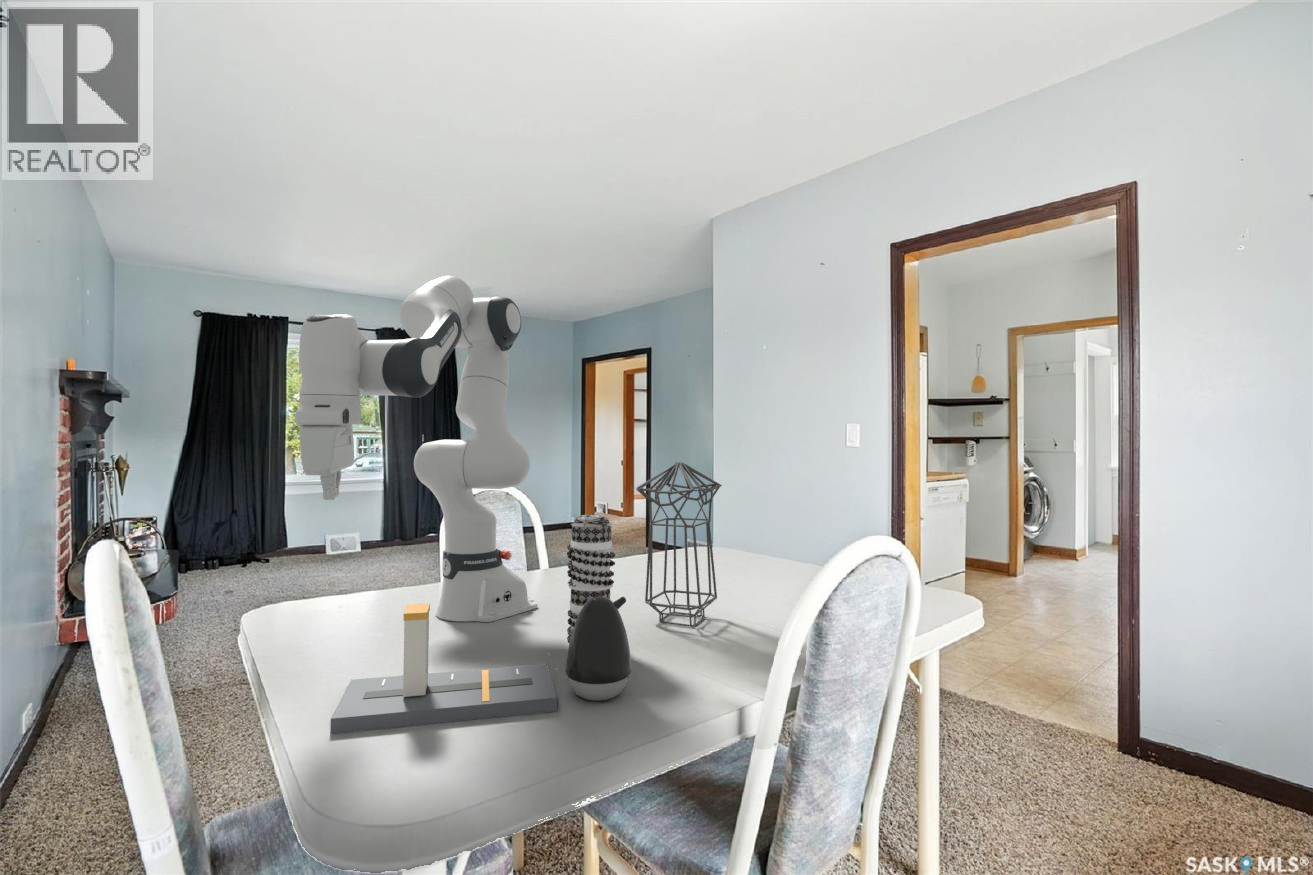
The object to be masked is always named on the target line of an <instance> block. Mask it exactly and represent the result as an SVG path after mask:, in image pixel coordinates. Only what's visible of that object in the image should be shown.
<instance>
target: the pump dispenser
mask: <svg viewBox="0 0 1313 875" xmlns="http://www.w3.org/2000/svg"><path fill="white" fill-rule="evenodd" d="M626 602H627V598H626V597H624V596H621V597H619V598H618V599H616V600H615V601H612V600H611V598H610V599H608V598H606V597H600V596H599V597H594V598H592V599H590V600H588V601H587V602H586V603H585V605H584V606H583V608H582V609H581V611H580V613H579V615H578V617H577V620H576V622H575V625H574V628H573V631H572V635H571V638H570V642H569V643H568V644H569V647H568V646H567V652H566V653H567V655H566V660H565V675H566V677H567V678H568V683H569V684H570V688H571V689H572V690H573V692H574V693H575V694H576V695H578V696H579V697H581V698H583V699H585V700H587V701H593V702H600V701H608V700H611V699H612V698H615V697H617V696H618V695H619V694H620V693H621V692H622V691H623V690H624V689H625V687H626V684H627V683H628V679H629V677H630V675H631V673H632V659H631V658H632V657H631V649H630V644H629V639H628V635H627V631H626V628H625V624H624V621H623V618H622V615H621V614H620V611H619V609H620V608H621V607H622V606H624V605H625V604H626Z"/></svg>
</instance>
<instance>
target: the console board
mask: <svg viewBox="0 0 1313 875" xmlns="http://www.w3.org/2000/svg"><path fill="white" fill-rule="evenodd" d="M552 680H553V679H552V676H551V672H550V670H549V666H548V664H547V663H544V664H532V665H530V664H529V665H520V666H518V665H517V666H505V667H494V668H482V669H481V668H479V669H469V670H466V669H465V670H458V671H457V670H456V671H445V672H443V671H442V672H433V673H429V672H428V684H427V689H426V694H425V695H420V696H408V697H403V675H394V676H393V675H392V676H380V677H369V678H353V679H350V681H349V682H348V685H347V687H346V689H345V690H344V693H343V695H342V697H341V698H340V700H339V702H338V704H337V706H336V708H335V710H334V711H333V713H332V715H331V717H330V728H329V729H330V731H329V732H330V734H331V735H332V734H340V733H341V734H342V733H349V732H350V733H351V732H360V731H363V732H364V731H371V730H380V729H381V730H383V729H391V728H401V727H410V726H421V725H430V724H431V725H432V724H441V723H452V722H453V723H454V722H461V721H462V722H463V721H470V720H471V721H472V720H480V719H482V720H483V719H491V718H492V719H494V718H501V717H502V718H503V717H510V716H513V717H514V716H522V715H533V714H540V713H543V714H544V713H551V712H553V713H554V712H557V710H558V709H557V706H558V704H557V703H558V696H557V693H556V690H555V687H554V682H553V681H552Z"/></svg>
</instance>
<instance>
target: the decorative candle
mask: <svg viewBox="0 0 1313 875" xmlns="http://www.w3.org/2000/svg"><path fill="white" fill-rule="evenodd" d="M570 526H571V539H570V544H569V545H567V546H566V548H567V550H568V551H567V552H566V555H567V558H568V559H570V560H568V562H567V567H568V569H569V570H567V572H566V573H567V577H568V578H569V580H568V581H567V584H568V588H569V589H570V601H569V610H568V611H567V616H568V617H569V618H568V619H567V624H568V625H569V626H568V627H567V630H566V631H567V637H566V641H567V643H568V644H567V648H568V647H569V642H570V638H571V635H572V631H573V628H574V625H575V622H576V620H577V617H578V615H579V613H580V611H581V609H582V608H583V606H584V605H585V603H586V602H587V601H588V600H590V599H592V598H594V597H599V596H600V597H606V598H608V599H610V600H611V588H612V587H614V583H615V581H614V580H613V579H612V578H613V576H614V575H615V573H614V571H612V570H611V568H612V567H613V566H615V565H616V562H615V561H613V558H615V557H616V553H614V552H613V551H611V549H612V548H613V540H612V526H614V523H611V522H610V520H609V518H608V517H607V516H605V515H602V514H583V515H578V516H577V517H576V518H575V520H574V521H573V522H572V523H570Z"/></svg>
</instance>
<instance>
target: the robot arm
mask: <svg viewBox="0 0 1313 875" xmlns="http://www.w3.org/2000/svg"><path fill="white" fill-rule="evenodd" d="M399 317H400V319H399V320H400V323H401V325H402V327H403V330H404V331H405V332H406V334H407V335H408V336H409V337H410V338H405V339H379V340H378V339H376V340H375V339H374V340H373V339H371V340H370V338H369V337H368V336H366V335H364V334H363V333H362V332H361V331H360V330H359V328H358V325H357V320H356V318H355V317H354V316H353V315H350V314H316V315H312V316H309V317H307V318H306V319H305V320H304V321H303V324H302V326H301V331H300V336H299V337H300V338H299V349H298V368H299V371H300V374H301V387H300V389H299V404H298V409H296V411H295V415H294V421H295V425H296V426H300V429H299V446H300V447H299V448H300V457H301V458H300V459H301V464H302V465H301V466H302V470H303V472H304V475H305V476H320V478H319V479H320V484H321V488H322V498H323V499H324V501H326V500H327V501H332V500H335V499H337V498H339V497H340V486H341V479H342V470H345V469H347V468H350V467H352V466H353V464H354V459H355V453H354V452H355V449H354V432H353V431H354V430H353V425H361V422H362V421H361V420H362V418H361V408H362V405H361V404H362V403H361V396H378V397H379V396H391V397H393V396H395V397H396V396H398V397H406V398H415V399H416V398H418V399H419V398H422V397H425V396H426V395H428V393H429V392H431V391H432V390H433V389H434V387H435V386H436V384H437V383H438V380H439V377H440V373H441V370H442V368H443V367H444V365H445V364H446V361H448V359H449V358H450V356H451V355H452V353H453V351H454V350H455V349H467V357H466V360H465V361H464V366H463V369H462V372H461V376H460V382H459V387H458V393H457V400H456V405H455V413H456V416H457V418H458V419H459V421H460V422H461V423H462V424H464V425H465V426H467V427H468V428H470V429H472V430H474V431H475V432H476V434H475V435H476V436H475V438H474V439H452V438H451V439H448V438H447V439H446V438H445V439H439V440H434V441H433V440H432V441H428V442H425V443H423V444H422V445H420V446H419V448H418V449H417V451H416V453H415V455H414V459H413V471H414V473H415V475H416V477H417V479H418V480H419V481H420V483H421V484H423V485H424V486H426V487H427V488H428V489H429V490H430V491H431V492H432V494H433V495H434V497H435V498H436V499H437V502H438V504H439V505H440V509H441V511H442V512H441V513H442V514H443V515H442V516H443V521H444V525H443V526H444V550H443V551H442V566H441V568H442V570H441V571H442V577H443V580H442V586H441V587H442V588H441V593H440V594H441V595H440V599H439V604H438V606H437V610H436V612H435V616H436V617H437V618H440V619H442V620H444V621H445V620H446V621H452V622H482V623H483V622H484V623H490V622H495V621H499V620H501V619H502V620H503V619H505V618H508V617H512V616H514V615H518V614H521V613H525V612H527V611H531V610H534V609H537V608H538V602H537V601H536V600H535V599H533V598H531V597H529V596H528V588H527V585H526V582H525V580H524V579H523V578H522V577H520V576H519V575H518V574H516V572H514V571H512V570H511V569H510V568H509V567H508V566H505V564H504V562H503V560H506V561H509V560H511V559H512V552H511V551H509V550H505V549H504V550H502V551H501V550H500V549H498V548H497V517H496V515H495V514H494V512H493V511H492V509H490V508H489V507H488V506H485V505H484V504H482V503H481V502H479V501H478V500H477V499H476V498H475V496H474V492H473V489H475V490H477V489H479V490H480V489H483V490H484V489H486V490H488V489H489V490H501V489H509V488H514V487H518V486H520V485H521V484H522V483H523V482H524V481H525V480H526V479H527V477H528V475H529V472H530V467H531V465H530V464H531V463H530V457H529V454H528V452H527V450H526V448H525V447H524V446H523V445H522V444H520V443H519V442H518V441H517V440H516V439H515V438H514V437H513V435H512V434H511V432H510V430H509V428H508V425H507V417H506V415H507V414H506V413H507V412H506V411H507V400H508V393H509V385H510V384H509V383H510V361H509V355H508V352H507V351H509V350H510V349H511V348H512V347H513V344H514V342H516V340H517V338H518V337H519V334H520V332H521V328H522V317H521V313H520V310H519V307H518V306H517V304H516V303H515V302H514V301H513V299H511V298H509V297H505V296H496V295H495V296H492V297H474V293H473V291H472V289H471V287H470V286H469V285H468V283H467V282H465V280H463V279H461V278H459V277H457V276H452V275H444V276H440V277H437V278H435V279H433V280H432V279H431V280H430V281H428V282H426V283H425V284H423V285H421V286H419V287H418V288H416V289H415V290H413V291H412V292H411V293H410V294H409V295H408V296H406V297H405V299H404V301H403V302H402V304H401V305H400V309H399Z"/></svg>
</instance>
